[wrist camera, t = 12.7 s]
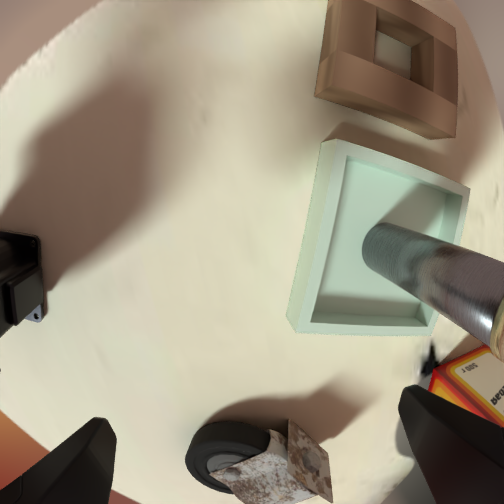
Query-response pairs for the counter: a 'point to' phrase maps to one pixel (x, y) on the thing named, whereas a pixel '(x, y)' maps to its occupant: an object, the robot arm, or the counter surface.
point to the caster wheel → (259, 463)
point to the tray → (353, 233)
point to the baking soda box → (473, 383)
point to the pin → (442, 279)
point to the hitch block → (385, 81)
